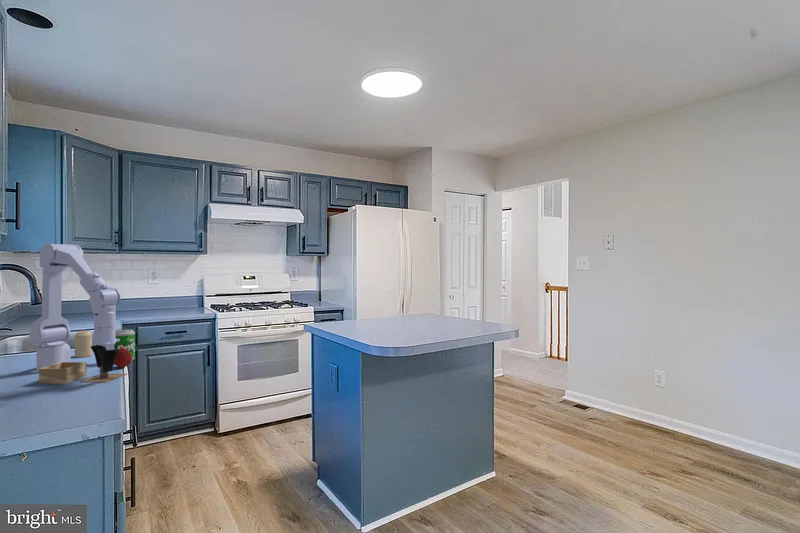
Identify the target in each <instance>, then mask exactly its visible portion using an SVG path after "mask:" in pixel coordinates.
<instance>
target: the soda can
mask: <svg viewBox="0 0 800 533" xmlns="http://www.w3.org/2000/svg"><path fill="white" fill-rule="evenodd" d="M135 335H136V332H135V331H134V330H133V329H132V328H121V329H120V328H118V329H115V339H120V341H119V342H116V343H115V344H114V349H120V348H121V346H123V347H124V348H125V349H127V350H129V352H130V353H131V354H132V361H131V363H132V362H133V361H134V360H135V355H136V353H135V352H136V350H135V346H136V344H135V343H136V339H135V338H136V336H135Z"/></svg>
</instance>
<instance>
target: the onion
mask: <svg viewBox="0 0 800 533" xmlns="http://www.w3.org/2000/svg"><path fill="white" fill-rule="evenodd" d="M131 361H132V362H133V360H132V354H131V353H130V352H129V350H127V349H125V348H124V347H123V346H121V348H120V349H119V352H118V354H117V355H116V358H115V360H114V364H113V365H114V366H117V367H118V368H120V369H123V368H126V367H127V366H129V365H130V364H131V363H132V362H131Z"/></svg>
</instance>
